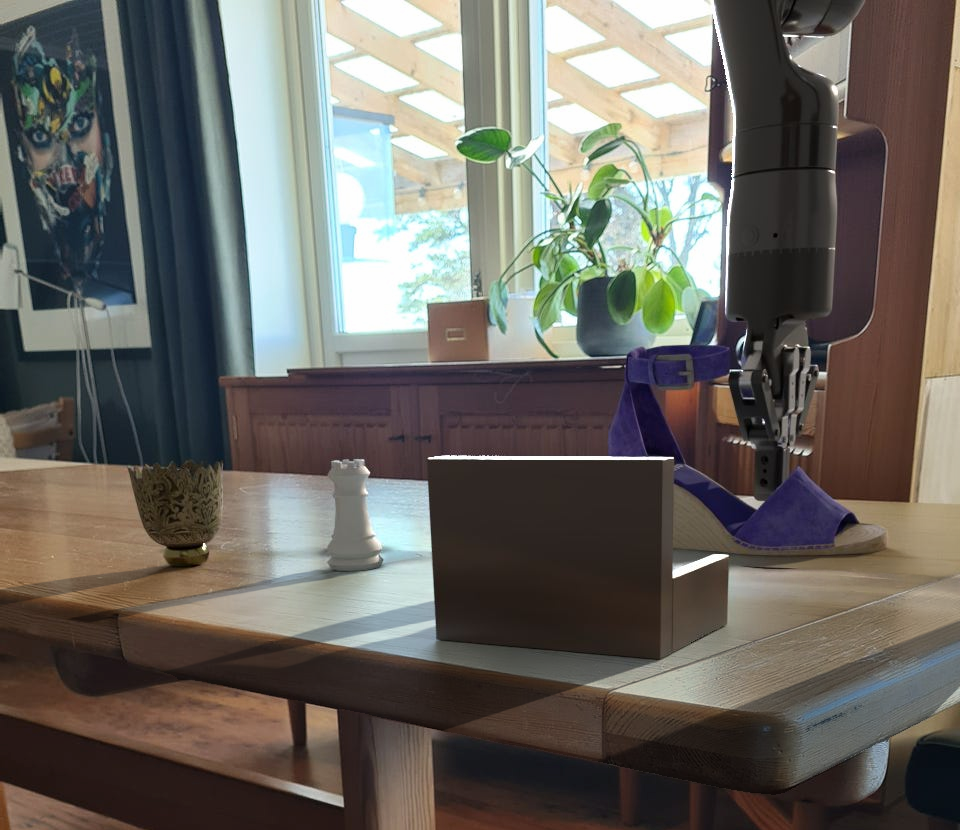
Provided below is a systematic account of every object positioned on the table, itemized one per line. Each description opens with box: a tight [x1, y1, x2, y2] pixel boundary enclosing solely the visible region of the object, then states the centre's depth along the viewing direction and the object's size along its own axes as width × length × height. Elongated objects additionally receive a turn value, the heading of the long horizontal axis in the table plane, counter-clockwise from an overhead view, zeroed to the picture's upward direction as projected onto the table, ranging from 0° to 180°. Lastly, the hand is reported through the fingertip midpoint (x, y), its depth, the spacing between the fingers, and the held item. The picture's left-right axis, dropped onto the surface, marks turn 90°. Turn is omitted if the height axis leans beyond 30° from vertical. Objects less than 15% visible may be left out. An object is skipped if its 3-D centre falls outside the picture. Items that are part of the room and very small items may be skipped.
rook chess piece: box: [326, 458, 385, 572], centre depth 99 cm, size 4×4×8 cm
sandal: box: [607, 344, 889, 570], centre depth 91 cm, size 8×20×15 cm, turn 57°
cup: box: [126, 458, 224, 567], centre depth 104 cm, size 8×7×8 cm
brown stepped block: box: [426, 455, 730, 660], centre depth 72 cm, size 10×14×10 cm
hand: (770, 499), depth 97 cm, fingers closed
